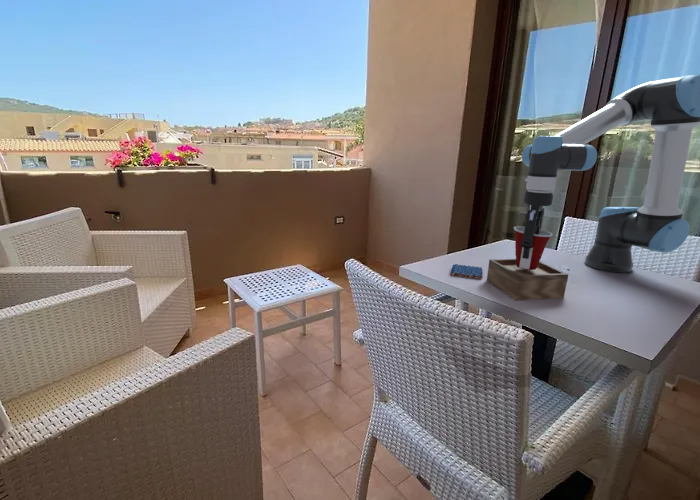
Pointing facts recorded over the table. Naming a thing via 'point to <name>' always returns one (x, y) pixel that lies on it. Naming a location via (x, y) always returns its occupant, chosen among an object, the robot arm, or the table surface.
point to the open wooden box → (526, 280)
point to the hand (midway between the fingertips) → (527, 264)
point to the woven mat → (467, 271)
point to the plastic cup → (537, 245)
